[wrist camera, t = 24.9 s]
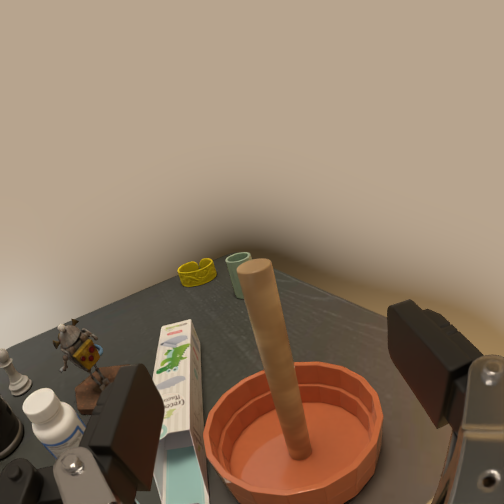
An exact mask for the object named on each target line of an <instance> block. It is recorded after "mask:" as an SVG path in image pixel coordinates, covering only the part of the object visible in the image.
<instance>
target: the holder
mask: <svg viewBox="0 0 504 504" xmlns="http://www.w3.org/2000/svg"><path fill="white" fill-rule="evenodd" d="M250 260H252V258H251V254H250V253H247V252H243V253H237V254H233V255H231V256H229V257H227V258H226V260H225V261H226V265H227V268H228V272H229V276H230V279H231V283H232V286H233V290H234V293H235V296H236V297H237V298H240V299H244V296H243V293H242V289H241V285H240V282H239V278H238V274H237V268H238V266H240V265H241V264H243V263H245V262H247V261H250Z"/></svg>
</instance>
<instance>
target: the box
mask: <svg viewBox="0 0 504 504" xmlns="http://www.w3.org/2000/svg"><path fill="white" fill-rule="evenodd" d="M153 382H154V384H155V386H156V387H157V389H158V391H159V393H160V395H161V397H162V399H163V402H164V408H165V414H164V419H163V424H162V429H161V434H160V439H159V445H158V450H157V455H156V461H155V466H154V472H153V474H154V478H155V481H156V485H157V488H158V492H159V495H160V499H161V502H162V504H197V503H199V504H209V490H208V479H207V466H206V453H205V445H204V439H203V431H204V422H203V403H202V381H201V352H200V342H199V340H198V337H197V334H196V332H195V329H194V326H193V324H192V321H191V319H190V320H186V321H182V322H178V323H174V324H170V325H166V326H162V329H161V334H160V339H159V345H158V351H157V356H156V362H155V368H154V374H153Z"/></svg>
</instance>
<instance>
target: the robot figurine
mask: <svg viewBox="0 0 504 504" xmlns="http://www.w3.org/2000/svg"><path fill="white" fill-rule="evenodd" d="M78 322H79V321H77V320H74V319H72V325H67V326H65V325H64V324H59V325H58V330H59V331H60V333H59V335H58V339H59V342H57V341H54V340H53V344H54V346H55V348H56V349H57V348H58V346H59V344H61V351H62V352H63V353H65V355H64V356H63V360H64V364H65V365H64V366H63V367H62V368H61V369H60V370H59V371H60V372H61V373H62V372H63V371H66V368H68V366H67V360H68V359H69V360H70V361H71V362H72V363H74V364H75V365H76V366H77V367H79V368H81V369H83V370H85V371H87V372H89V373H90V376H89V377H88V378H87V379H85V380H84V381H83V382H82V383H81V384H79V385H78V386H77V387H76V388H75V392H76V400H77V407H78V410H79V412H80V413H81V414H92V412H93V410H94V408H95V406H97V405H96V403H97V401H98V398H99V396H100V394H101V392H102V391H103V390H104V389H105V388H106V387H107V386H108V385H109V383H110V382H114V380H115V377H116V375H117V373H118V370H119V368H120V367H122V366H128V365H130V364H128V365H120V366H111V367H102V368H97V366H96V362H97V361H98V360H99V358H100V356H101V355H102V354H103V349H102V347H101V346H99V345H97V344H94V343H93V341H92V340H90V339H89V338H88V337H90V336H91V337H93V338H94V340H97V339H98V338H97V337H96V336H94V335H93V334H92V333H91V332H90V333H89V331H88V330H86V329H84V328H83V329H81V332H80V330H79V329H78V328H77V327H75V325H76V323H78ZM96 348H97V349H98V350H99V353H98V351H97V349H96ZM93 366H95V368H96V369H95V370H96V371H95V372H94V373H93V374H92V373H91V368H92V367H93Z"/></svg>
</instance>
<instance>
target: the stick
mask: <svg viewBox="0 0 504 504" xmlns="http://www.w3.org/2000/svg"><path fill="white" fill-rule="evenodd" d="M237 274H238V278H239V282H240V285H241V289H242V293H243V296H244V300H245V304H246V307H247V311H248V314H249V318H250V321H251V325H252V329H253V332H254V336H255V339H256V343H257V346H258V350H259V353H260V357H261V360H262V364H263V367H264V371H265V374H266V378H267V381H268V385H269V388H270V392H271V395H272V398H273V402H274V405H275V409H276V412H277V415H278V419H279V422H280V425H281V429H282V432H283V436H284V439H285V442H286V446H287V449H288V452H289V455H290V457H291V458H292V459H294V460H304V459H306V458H308V457H309V456H310V454H311V452H312V448H311V443H310V438H309V434H308V429H307V424H306V419H305V414H304V409H303V405H302V400H301V395H300V390H299V386H298V381H297V376H296V371H295V367H294V362H293V358H292V353H291V348H290V344H289V339H288V335H287V330H286V325H285V321H284V316H283V312H282V307H281V303H280V298H279V294H278V289H277V285H276V281H275V276H274V272H273V267H272V263H271V261H270V260H268V259H254V260H250V261H247V262H245V263H243V264H241V265H240V266H238V268H237Z"/></svg>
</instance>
